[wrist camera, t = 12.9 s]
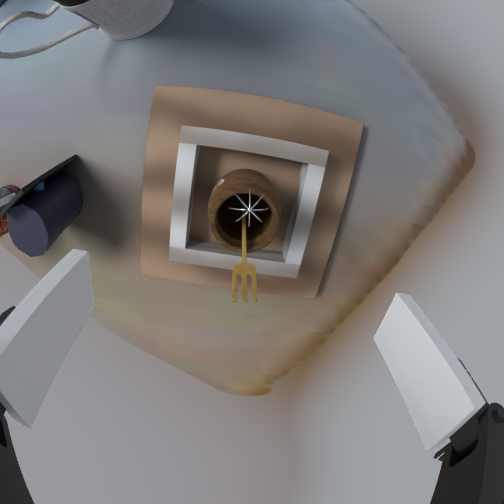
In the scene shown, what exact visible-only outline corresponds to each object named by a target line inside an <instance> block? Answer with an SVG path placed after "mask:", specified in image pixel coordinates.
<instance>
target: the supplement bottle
mask: <svg viewBox="0 0 504 504" xmlns="http://www.w3.org/2000/svg"><path fill="white" fill-rule="evenodd" d="M18 192H19V191H18V190H17V188H15V187H14V186H12V185H7V186H4V187H1V188H0V212H1V210H2V209H3V208H4V207H5V206H6V205H7V204H8V203H9V201H10V200H11V199H12V198H13V197H14V196H15V195H16V194H17V193H18ZM9 211H10V210H9ZM9 211H8V212H7V213H6V214H5V215H4V216H2V217H1V218H0V237H1V236H3V235H4V234H6V233H7V232H9V231H8V229H7V222H8V213H9Z"/></svg>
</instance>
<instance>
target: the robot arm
mask: <svg viewBox="0 0 504 504" xmlns="http://www.w3.org/2000/svg"><path fill="white" fill-rule="evenodd" d="M3 2H4V0H0V4H2V3H3ZM95 307H96V305H95V299H94V293H93V287H92V280H91V273H90V265H89V256H88V251H83V250H77V249H72V250H71V251H70V252H69V253H68V254H67V255H66V256H65V257H64V258H63V259H62V260H61V261H60V262H58V263H57V264H56V265H55V266H54V267H53V268H52V269H51V270H50V271H49V272H48V273H47V274H46V275H45V276H44V277H43V278H42V279H41V280H40V282H39V283H38V284H37V285H36V286H35V287H34V288H33V289H32V290H31V291H30V292H29V293H28V294H27V295H26V297H25V298H24V299H23V300H22V301H21V302H20V303H19V304H18V306H17V307H15V306H13V307H11V308H9V309H8V310H6V311H5V312H3V313H2V314H1V315H0V504H34V502H33V500H32V498H31V495H30V493H29V491H28V489H27V486H26V483H25V481H24V478H23V475H22V473H21V470H20V467H19V464H18V461H17V458H16V455H15V451H14V448H13V445H12V440H11V437H10V433H9V429H8V424H7V421H6V418H5V416H4V413H5V411H6V410H7V411H8V413H9V414H10V415H11V416H12V417H13V418H14V419H15V420H17V421H18V422H20V423H22V424H23V425H25V426H27V427H29V428H31V427H32V424H33V422H34V420H35V417H36V415H37V413H38V411H39V408H40V406H41V404H42V402H43V400H44V398H45V396H46V393H47V392H48V389H49V387H50V385H51V383H52V382H53V380H54V378H55V376H56V374H57V372H58V370H59V368H60V366H61V364H62V362H63V361H64V359H65V357H66V355H67V353H68V351H69V350H70V348H71V346H72V344H73V343H74V341H75V339H76V338H77V336H78V334H79V333H80V331H81V329H82V328H83V326H84V324H85V323H86V321H87V320H88V318H89V316H90V315H91V313H92V312H93V310H94V308H95ZM373 339H374V341H375V343H376V345H377V347H378V349H379V351H380V353H381V355H382V357H383V359H384V361H385V362H386V364H387V367H388V369H389V370H390V373H391V375H392V377H393V379H394V381H395V383H396V385H397V387H398V389H399V391H400V393H401V396H402V398H403V400H404V402H405V404H406V406H407V408H408V411H409V413H410V415H411V417H412V420H413V422H414V424H415V426H416V429H417V431H418V434H419V436H420V438H421V441H422V443H423V446H424V448H425V450H426V451H428V450H430V449H433V448H435V447H438V446H440V445H441V444H442V443H443V442H445V441H446V440H447V439H448V438H450V440H451V442H450V443H448V444H447V445H446V446H445V447H443V448H442V449H441V450H440V451H438V452H437V453H436V454H435V456H434V458H437V457H438V456H440V455H441V454H442V453H444V452H445V453H444V454H443V455H442V456H441V457H440V458H439V460H440V461H443V462H442V466H441V470H440V474H439V477H438V481H437V484H436V487H435V491H434V494H433V497H432V500H431V503H430V504H504V408H503V407H502V406H501V405H500V404H498V403H491V404H490V405H489V404H488V403H487V401H486V399H485V398H484V396H483V395H482V393H481V391H480V389H479V388H478V386H477V385H476V383H475V382H474V380H473V378H471V375H470V374H469V372H468V371H466V368H465V366H464V365H463V363H462V362H461V361H460V360H459V359H458V358H457V357H456V355H455V354H454V352H453V351H452V350H451V348H450V347H449V346H448V344H447V343H446V341H445V340H444V338H443V337H442V336H441V334H440V333H439V332H438V330H437V329H436V328H435V326H434V325H433V324H432V322H431V321H430V320H429V319H428V317H427V316H426V315H425V313H424V312H423V311H422V310H421V308H420V307H419V306H418V305H417V304H416V302H415V301H414V300H413V299H412V297H411V296H410V295H409V294H407V293H396V294H395V297H394V299H393V301H392V303H391V305H390V307H389V309H388V311H387V313H386V315H385V317H384V319H383V321H382V323H381V324H380V326H379V328H378V330H377V332H376V334H375V336H374V338H373Z"/></svg>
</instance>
